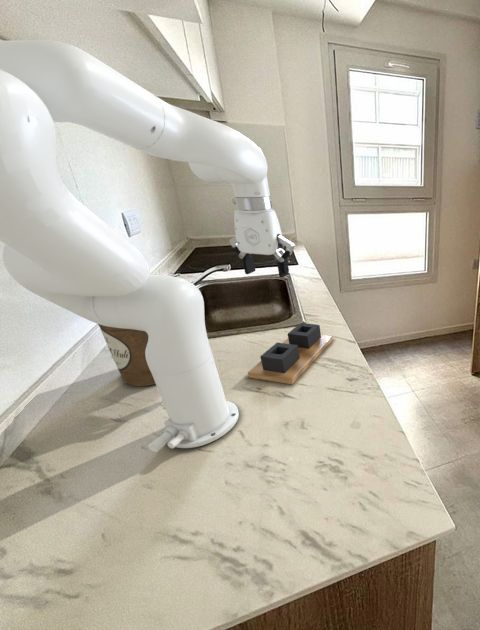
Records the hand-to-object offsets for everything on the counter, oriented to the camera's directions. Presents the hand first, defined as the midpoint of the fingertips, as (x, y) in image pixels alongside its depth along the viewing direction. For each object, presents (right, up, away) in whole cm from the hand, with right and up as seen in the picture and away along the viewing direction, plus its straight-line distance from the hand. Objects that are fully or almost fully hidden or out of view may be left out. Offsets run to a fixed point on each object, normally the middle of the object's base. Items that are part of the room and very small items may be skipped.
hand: (267, 274), depth 84 cm
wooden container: (-27, -24, 0) cm, 37 cm away
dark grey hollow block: (+6, -18, +11) cm, 22 cm away
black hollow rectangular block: (+4, -23, 0) cm, 23 cm away
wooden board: (+5, -22, +6) cm, 23 cm away
